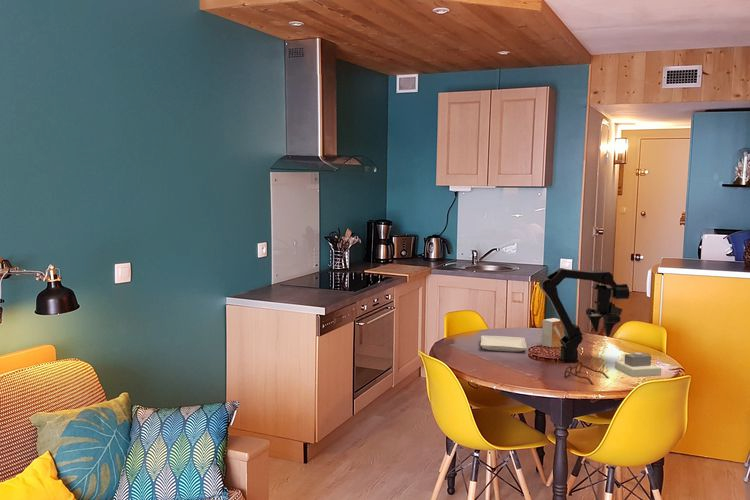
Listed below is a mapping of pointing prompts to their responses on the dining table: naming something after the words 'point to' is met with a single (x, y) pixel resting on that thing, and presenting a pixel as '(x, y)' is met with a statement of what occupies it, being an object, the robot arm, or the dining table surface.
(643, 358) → the block
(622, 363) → the stand
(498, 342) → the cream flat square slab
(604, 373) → the glasses
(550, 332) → the small box
